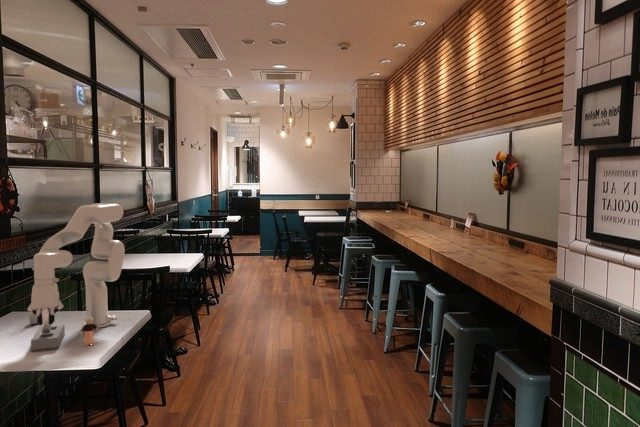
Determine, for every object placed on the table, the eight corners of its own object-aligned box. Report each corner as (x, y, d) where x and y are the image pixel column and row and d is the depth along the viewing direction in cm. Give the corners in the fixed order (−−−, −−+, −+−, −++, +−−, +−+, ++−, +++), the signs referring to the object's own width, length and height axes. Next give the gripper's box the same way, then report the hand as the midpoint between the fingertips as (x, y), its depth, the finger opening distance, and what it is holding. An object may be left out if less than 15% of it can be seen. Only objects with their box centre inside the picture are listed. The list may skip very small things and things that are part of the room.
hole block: (64, 334, 226) (64, 324, 226) (58, 349, 208) (58, 337, 207) (40, 337, 223) (39, 326, 223) (31, 352, 204) (30, 340, 204)
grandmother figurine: (84, 348, 210) (83, 318, 209) (79, 346, 212) (78, 317, 211) (100, 343, 216) (100, 314, 215) (95, 341, 218) (94, 313, 217)
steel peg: (51, 330, 212) (50, 303, 212) (50, 333, 209) (49, 305, 208) (42, 331, 211) (41, 304, 210) (40, 334, 208) (39, 306, 207)
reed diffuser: (43, 324, 241) (41, 284, 240) (26, 327, 237) (25, 286, 235) (38, 320, 249) (36, 281, 247) (22, 322, 244) (21, 283, 243)
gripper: (67, 278, 215) (68, 320, 216) (24, 281, 209) (25, 323, 210) (65, 282, 208) (66, 324, 209) (20, 284, 202) (21, 328, 203)
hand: (46, 323), depth 210 cm, fingers closed on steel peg, 3 cm apart
